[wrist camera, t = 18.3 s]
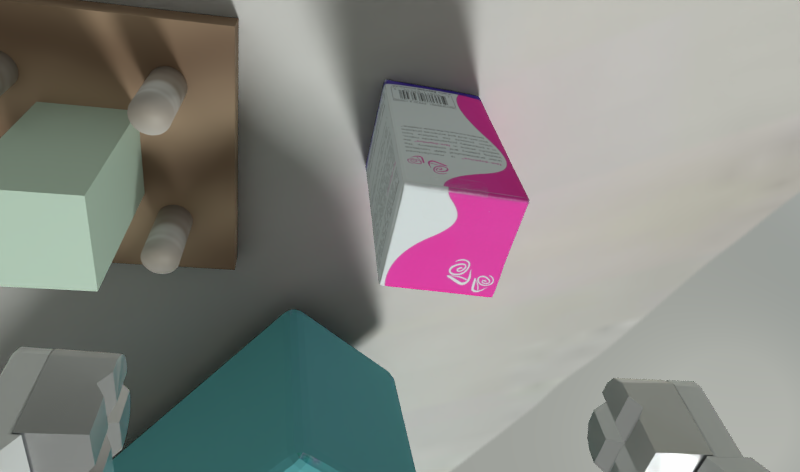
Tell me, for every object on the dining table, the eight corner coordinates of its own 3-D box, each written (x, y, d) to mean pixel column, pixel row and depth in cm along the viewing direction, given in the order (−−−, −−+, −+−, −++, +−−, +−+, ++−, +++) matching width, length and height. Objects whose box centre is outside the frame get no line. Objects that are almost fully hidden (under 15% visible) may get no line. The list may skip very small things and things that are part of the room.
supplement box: (363, 170, 39) (374, 288, 30) (383, 76, 36) (402, 174, 27) (456, 185, 40) (494, 302, 31) (482, 95, 37) (534, 194, 28)
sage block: (36, 101, 34) (-48, 186, 26) (137, 110, 35) (84, 196, 27) (50, 186, 37) (-22, 285, 29) (144, 193, 37) (97, 291, 30)
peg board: (-80, -18, 32) (-149, 12, 27) (238, 18, 34) (223, 52, 29) (-17, 240, 40) (-62, 297, 35) (237, 255, 42) (225, 311, 37)
